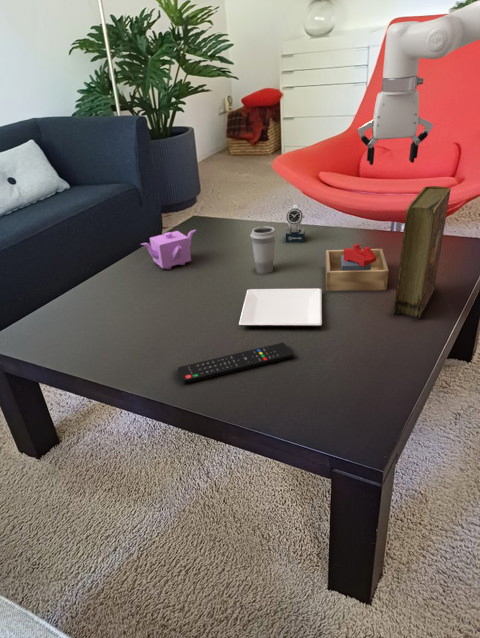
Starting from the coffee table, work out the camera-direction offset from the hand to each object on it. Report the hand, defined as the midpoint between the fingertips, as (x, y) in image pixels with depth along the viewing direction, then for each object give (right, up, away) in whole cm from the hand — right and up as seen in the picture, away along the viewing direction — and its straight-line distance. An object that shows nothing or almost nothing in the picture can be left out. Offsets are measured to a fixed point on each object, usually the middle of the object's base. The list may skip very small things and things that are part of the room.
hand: (391, 162), depth 131 cm
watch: (-18, -11, +34) cm, 40 cm away
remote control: (-41, -52, -22) cm, 69 cm away
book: (+3, -36, -7) cm, 37 cm away
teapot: (-56, -20, +27) cm, 66 cm away
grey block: (-7, -28, +6) cm, 29 cm away
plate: (-28, -38, -4) cm, 48 cm away
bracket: (-7, -24, +3) cm, 25 cm away
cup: (-30, -24, +17) cm, 42 cm away
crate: (-7, -28, +7) cm, 30 cm away
